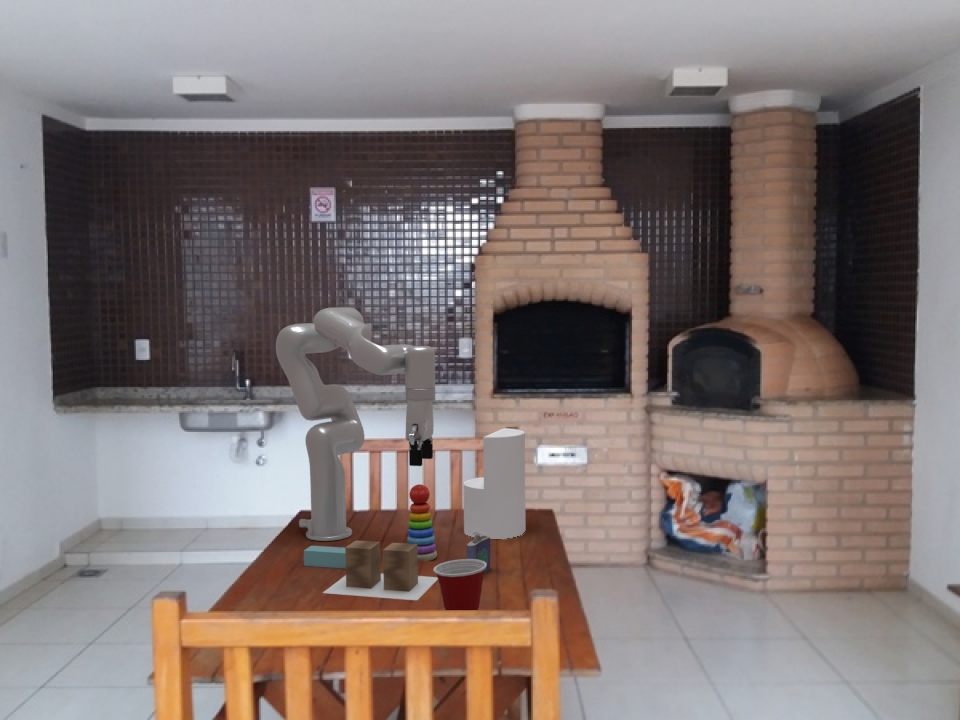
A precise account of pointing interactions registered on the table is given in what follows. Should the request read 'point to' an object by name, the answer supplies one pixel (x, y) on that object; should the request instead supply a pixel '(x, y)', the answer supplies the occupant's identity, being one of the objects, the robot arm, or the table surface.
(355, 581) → the pillar left
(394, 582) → the pillar right
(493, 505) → the cylinder
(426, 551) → the stacking toy
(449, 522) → the table surface
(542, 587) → the table surface
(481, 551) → the flask
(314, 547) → the beam
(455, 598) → the plastic cup
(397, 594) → the board
